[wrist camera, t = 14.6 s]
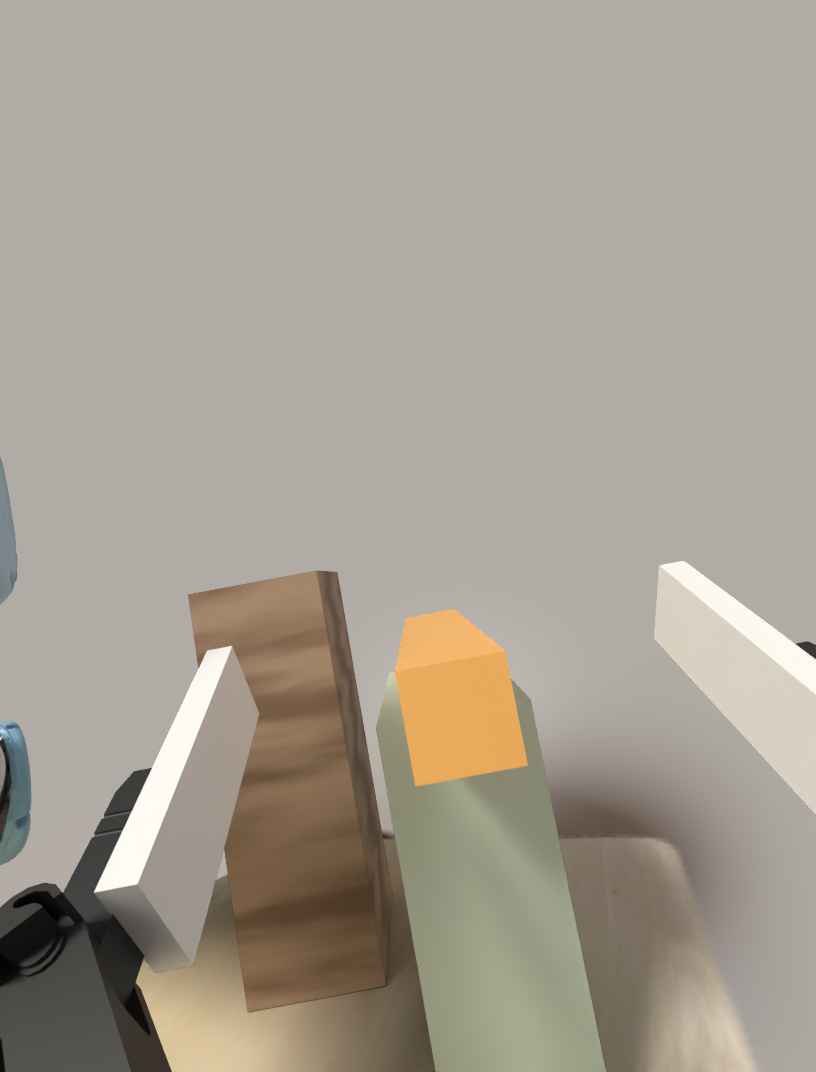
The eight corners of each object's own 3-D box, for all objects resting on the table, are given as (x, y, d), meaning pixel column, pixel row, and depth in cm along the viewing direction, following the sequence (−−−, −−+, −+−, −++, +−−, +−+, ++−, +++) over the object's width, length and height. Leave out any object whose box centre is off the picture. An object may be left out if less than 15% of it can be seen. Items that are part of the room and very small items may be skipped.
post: (385, 985, 34) (316, 570, 36) (247, 1012, 34) (187, 594, 36) (392, 892, 44) (337, 572, 46) (285, 913, 44) (236, 590, 46)
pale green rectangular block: (621, 1149, 22) (530, 699, 24) (454, 1181, 22) (376, 728, 24) (541, 929, 36) (487, 654, 38) (438, 948, 36) (389, 672, 38)
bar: (528, 765, 17) (505, 650, 17) (415, 786, 17) (394, 671, 17) (463, 657, 38) (454, 608, 39) (415, 666, 38) (406, 618, 39)
